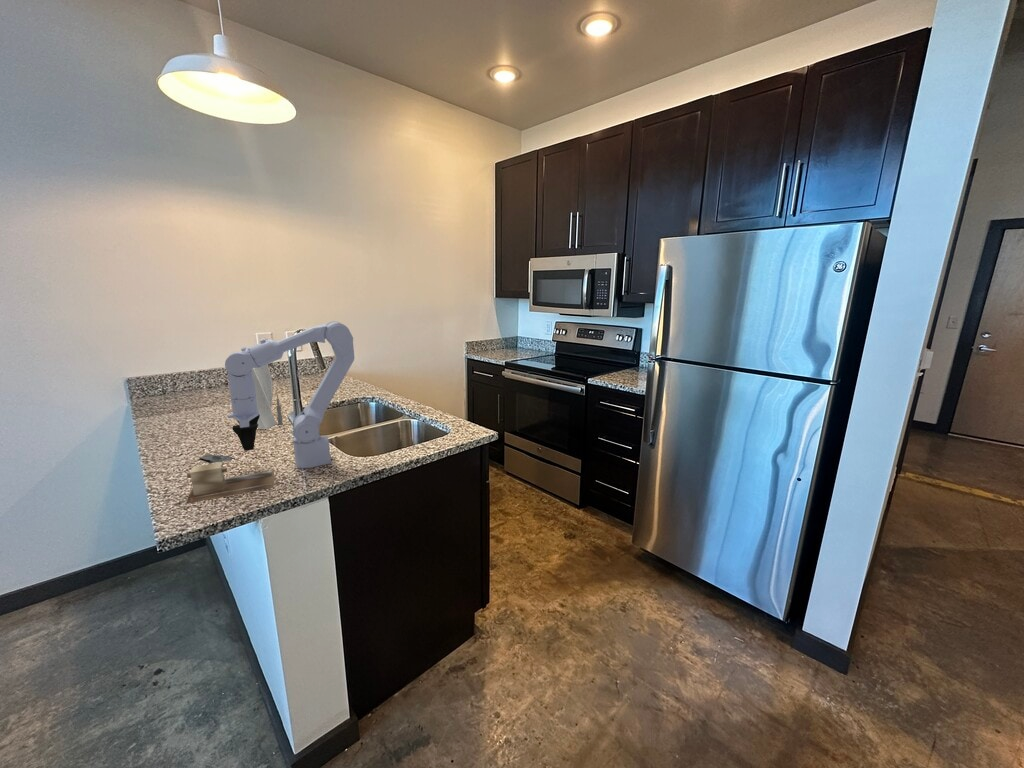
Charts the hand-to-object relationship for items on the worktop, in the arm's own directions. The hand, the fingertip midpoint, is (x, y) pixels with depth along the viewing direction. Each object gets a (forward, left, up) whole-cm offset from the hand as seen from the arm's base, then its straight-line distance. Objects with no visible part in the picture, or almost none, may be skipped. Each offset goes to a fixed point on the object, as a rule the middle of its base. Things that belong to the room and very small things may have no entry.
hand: (249, 445), depth 112 cm
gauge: (+9, +7, -8) cm, 14 cm away
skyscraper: (-2, -48, -10) cm, 49 cm away
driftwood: (+8, -16, -10) cm, 21 cm away
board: (+4, +7, -9) cm, 12 cm away
